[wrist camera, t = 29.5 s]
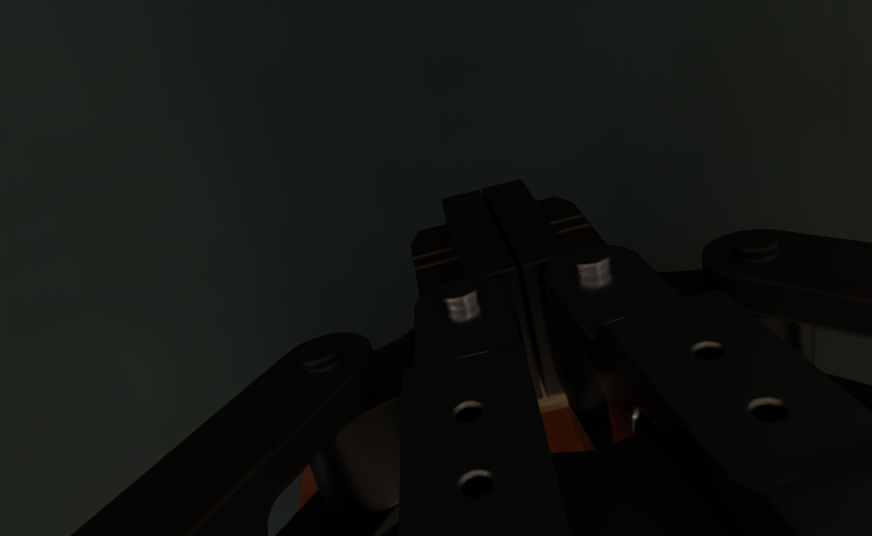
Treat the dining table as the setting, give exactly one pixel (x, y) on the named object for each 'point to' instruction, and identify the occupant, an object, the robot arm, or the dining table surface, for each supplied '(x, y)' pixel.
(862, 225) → the dining table surface
